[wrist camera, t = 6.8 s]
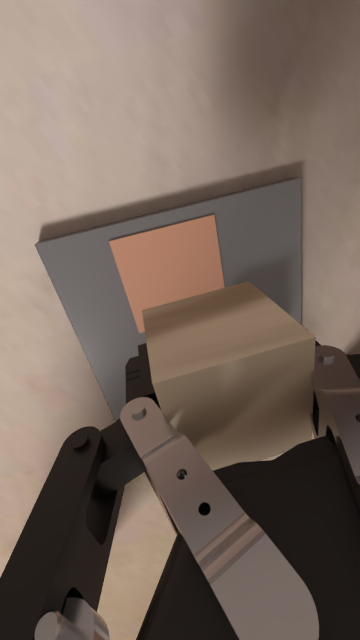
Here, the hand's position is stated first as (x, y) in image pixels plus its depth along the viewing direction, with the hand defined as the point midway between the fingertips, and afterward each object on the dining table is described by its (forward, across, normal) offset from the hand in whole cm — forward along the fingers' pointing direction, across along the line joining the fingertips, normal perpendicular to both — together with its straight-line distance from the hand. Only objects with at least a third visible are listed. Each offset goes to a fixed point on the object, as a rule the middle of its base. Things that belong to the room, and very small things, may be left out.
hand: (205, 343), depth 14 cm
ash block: (0, 0, 0) cm, 0 cm away
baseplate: (+11, -1, +4) cm, 12 cm away
